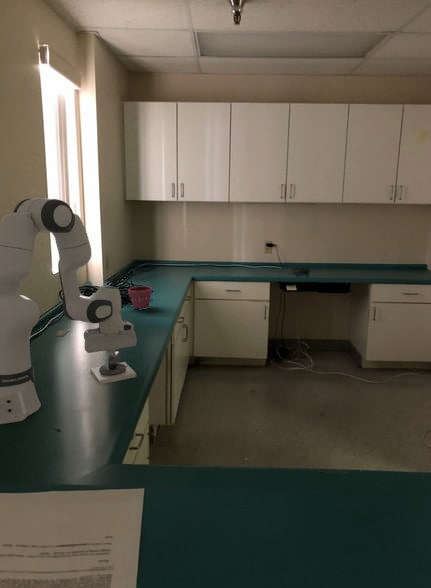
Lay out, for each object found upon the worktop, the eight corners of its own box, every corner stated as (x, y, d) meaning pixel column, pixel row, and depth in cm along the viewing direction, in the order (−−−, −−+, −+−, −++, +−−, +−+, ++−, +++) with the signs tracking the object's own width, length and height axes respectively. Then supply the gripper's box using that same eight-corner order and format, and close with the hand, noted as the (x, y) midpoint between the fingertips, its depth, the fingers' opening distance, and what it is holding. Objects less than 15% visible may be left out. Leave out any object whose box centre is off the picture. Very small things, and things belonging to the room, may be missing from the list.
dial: (121, 375, 168) (120, 362, 167) (95, 375, 169) (94, 362, 168) (130, 363, 179) (129, 351, 178) (106, 363, 180) (105, 351, 179)
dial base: (99, 384, 164) (99, 380, 164) (90, 371, 176) (90, 368, 176) (136, 376, 171) (136, 372, 170) (125, 365, 183) (124, 361, 182)
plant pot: (125, 311, 269) (124, 290, 266) (133, 305, 283) (132, 285, 280) (148, 311, 267) (147, 291, 264) (155, 306, 280) (154, 286, 278)
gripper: (85, 331, 168) (87, 366, 170) (137, 325, 177) (138, 358, 180) (81, 327, 173) (83, 361, 176) (132, 321, 183) (133, 353, 185)
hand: (111, 359), depth 178 cm, fingers closed
